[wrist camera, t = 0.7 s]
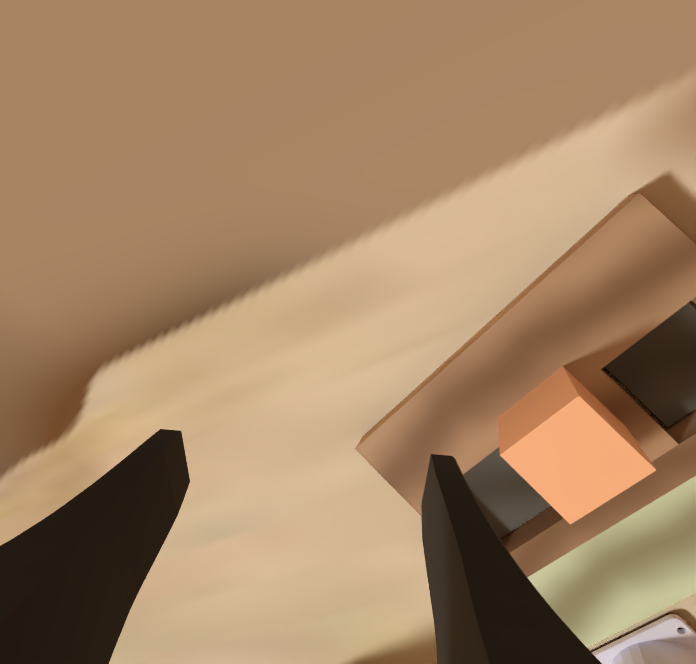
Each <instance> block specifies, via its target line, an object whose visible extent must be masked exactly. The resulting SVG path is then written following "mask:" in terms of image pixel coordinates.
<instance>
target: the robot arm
mask: <svg viewBox="0 0 696 664" xmlns="http://www.w3.org/2000/svg"><path fill="white" fill-rule="evenodd" d="M189 483H190V479H189V473H188V467H187V462H186V456H185V450H184V445H183V439H182V433H181V431H175V430H165V429H160V430H159V431H158V432H156V433H155V434H154V435H153V436H151V437H150V438H149V439H148V440H147V441H145V442H144V443H143V444H142V445H140V446H139V447H138V448H137V449H136V450H134V451H133V452H132V453H131V454H130V455H128V456H127V457H126V458H125V459H123V460H122V461H121V462H120V463H119V464H117V465H116V466H115V467H114V468H112V469H111V470H110V471H108V472H107V473H106V474H105V475H103V476H102V477H101V478H100V479H98V480H97V481H96V482H95V483H93V484H92V485H91V486H89V487H88V488H87V489H85V490H84V491H83V492H81V493H80V494H78V495H77V496H76V497H74V498H73V499H72V500H70V501H69V502H68V503H66V504H65V505H64V506H62V507H61V508H59V509H58V510H56V511H55V512H54V513H52V514H51V515H49V516H48V517H46V518H45V519H43V520H42V521H40V522H39V523H37V524H35V525H34V526H32V527H31V528H29V529H28V530H26V531H24V532H23V533H21V534H20V535H18V536H16V537H15V538H13V539H12V540H10V541H8V542H6V543H5V544H3V545H1V546H0V664H109V661H110V659H111V656H112V653H113V651H114V648H115V646H116V643H117V641H118V638H119V636H120V633H121V631H122V628H123V626H124V623H125V621H126V618H127V616H128V614H129V611H130V609H131V607H132V604H133V602H134V600H135V598H136V596H137V594H138V592H139V590H140V588H141V586H142V584H143V582H144V580H145V578H146V576H147V574H148V572H149V570H150V568H151V566H152V564H153V563H154V561H155V559H156V557H157V555H158V553H159V551H160V549H161V547H162V545H163V543H164V541H165V539H166V537H167V535H168V533H169V531H170V529H171V527H172V525H173V523H174V521H175V519H176V517H177V515H178V513H179V510H180V507H181V505H182V502H183V500H184V497H185V494H186V491H187V488H188V485H189ZM421 511H422V539H423V547H424V554H425V561H426V569H427V576H428V583H429V589H430V596H431V603H432V610H433V617H434V625H435V634H436V644H437V662H438V664H696V632H695V631H694V630H693V629H692V628H691V627H690V626H689V625H688V624H687V623H686V622H685V621H684V620H683V619H682V618H681V617H679V616H678V615H675V614H670V615H667V616H665V617H663V618H661V619H659V620H657V621H655V622H653V623H651V624H649V625H647V626H645V627H643V628H641V629H639V630H637V631H634V632H632V633H630V634H628V635H626V636H624V637H622V638H620V639H618V640H616V641H614V642H612V643H610V644H608V645H606V646H604V647H602V648H600V649H598V650H596V651H594V652H592V653H591V652H590V651H589V649H588V648H587V647H586V646H585V645H584V644H583V643H582V642H581V641H580V639H579V638H578V637H577V636H576V635H575V634H574V633H573V632H572V631H571V629H570V628H569V627H568V626H567V625H566V624H565V623H564V622H563V621H562V619H561V618H560V617H559V616H558V615H557V614H556V613H555V611H554V610H553V609H552V608H551V607H550V605H549V604H548V603H547V602H546V601H545V599H544V598H543V597H542V596H541V594H540V593H539V592H538V591H537V589H536V588H535V587H534V586H533V584H532V583H531V582H530V580H529V579H528V578H527V576H526V575H525V574H524V572H523V571H522V570H521V568H520V567H519V566H518V564H517V563H516V561H515V560H514V559H513V557H512V556H511V554H510V553H509V551H508V550H507V548H506V547H505V545H504V544H503V542H502V541H501V539H500V538H499V536H498V535H497V533H496V532H495V530H494V529H493V527H492V525H491V524H490V522H489V520H488V519H487V517H486V515H485V514H484V512H483V510H482V509H481V507H480V505H479V504H478V502H477V500H476V498H475V497H474V495H473V493H472V491H471V489H470V487H469V485H468V483H467V482H466V480H465V478H464V476H463V474H462V472H461V470H460V468H459V465H458V463H457V461H456V459H455V458H454V457H453V456H448V455H437V454H431V456H430V461H429V466H428V471H427V477H426V482H425V487H424V492H423V497H422V503H421ZM680 627H682V629H678V628H680Z"/></svg>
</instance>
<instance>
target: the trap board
mask: <svg viewBox="0 0 696 664" xmlns="http://www.w3.org/2000/svg"><path fill="white" fill-rule="evenodd" d="M690 301H692V302H693V303H695V304H696V244H695V243H694V242H693V241H692V240H691V239H690V238H689V237H688V236H686V235H685V234H684V233H683V232H682V231H681V230H680V229H679V228H678V227H677V226H675V225H674V224H673V223H672V222H671V221H670V220H669V219H668V218H667V217H666V216H664V215H663V214H662V213H661V212H660V211H659V210H658V209H657V208H656V207H655V206H653V205H652V204H651V203H650V202H649V201H648V200H647V199H646V198H645V197H644V196H642V195H641V194H640V193H638V194H633V195H629V196H627V197H626V198H625V199H624V200H623V201H622V202H621V203H620V204H619V205H618V206H616V207H615V208H614V209H613V210H612V211H611V212H610V213H609V214H608V215H607V216H605V217H604V218H603V219H602V220H601V221H600V222H599V223H598V224H597V225H596V226H594V227H593V228H592V229H591V230H590V231H589V232H588V233H587V234H586V235H585V236H583V237H582V238H581V239H580V240H579V241H578V242H577V243H576V244H575V245H573V246H572V247H571V248H570V249H569V250H568V251H567V252H566V253H565V254H564V255H562V256H561V257H560V258H559V259H558V260H557V261H556V262H555V263H554V264H553V265H551V266H550V267H549V268H548V269H547V270H546V271H545V272H544V273H543V274H542V275H540V276H539V277H538V278H537V279H536V280H535V281H534V282H533V283H532V284H530V285H529V286H528V287H527V288H526V289H525V290H524V291H523V292H522V293H521V294H519V295H518V296H517V297H516V298H515V299H514V300H513V301H512V302H511V303H510V304H508V305H507V306H506V307H505V308H504V309H503V310H502V311H501V312H500V313H499V314H497V315H496V316H495V317H494V318H493V319H492V320H491V321H490V322H489V323H487V324H486V325H485V326H484V327H483V328H482V329H481V330H480V331H479V332H478V333H476V334H475V335H474V336H473V337H472V338H471V339H470V340H469V341H468V342H467V343H465V344H464V345H463V346H462V347H461V348H460V349H459V350H458V351H457V352H456V353H454V354H453V355H452V356H451V357H450V358H449V359H448V360H447V361H446V362H444V363H443V364H442V365H441V366H440V367H439V368H438V369H437V370H436V371H435V372H433V373H432V374H431V375H430V376H429V377H428V378H427V379H426V380H425V381H424V382H422V383H421V384H420V385H419V386H418V387H417V388H416V389H415V390H414V391H413V392H411V393H410V394H409V395H408V396H407V397H406V398H405V399H404V400H403V401H401V402H400V403H399V404H398V405H397V406H396V407H395V408H394V409H393V410H392V411H390V412H389V413H388V414H387V415H386V416H385V417H384V418H383V419H382V420H381V421H379V422H378V423H377V424H376V425H375V426H374V427H373V428H372V429H371V430H370V431H368V432H367V433H366V434H365V435H364V436H363V437H362V439H361V440H360V442H359V444H358V445H357V447H356V450H357V451H358V452H359V453H360V454H361V455H362V456H363V457H364V458H365V459H366V460H367V461H368V462H369V463H370V465H371V466H372V467H373V468H374V469H375V470H376V471H377V472H378V473H379V474H380V475H381V476H382V477H383V478H384V479H385V480H386V481H387V482H388V483H389V484H390V485H391V486H392V487H393V488H394V489H395V490H396V491H397V492H398V493H399V494H400V495H401V496H402V497H403V498H404V499H405V500H406V501H407V502H408V503H409V504H410V505H411V506H412V507H413V508H414V509H415V510H416V511H417V512H418V513H419V514H420V515H421V516H422V511H421V503H422V497H423V492H424V487H425V482H426V477H427V471H428V466H429V461H430V456H431V454H437V455H448V456H453V457H454V458H455V459H456V461H457V463H458V465H459V468H460V470H461V472H462V474H463V476H464V478H465V480H466V482H467V483H468V485H469V487H470V489H471V491H472V493H473V495H474V497H475V498H476V500H477V502H478V504H479V505H480V507H481V509H482V510H483V512H484V514H485V515H486V517H487V519H488V520H489V522H490V524H491V525H492V527H493V529H494V530H495V532H496V533H497V535H498V536H499V538H501V541H502V542H503V544H504V545H505V547H506V548H507V550H508V551H509V553H510V554H511V556H512V557H513V559H514V560H515V561H516V563H517V564H518V566H519V567H520V568H521V570H522V571H523V572H524V574H525V575H526V576H527V578H528V579H529V580H530V582H531V583H532V584H533V586H534V587H535V588H536V589H537V591H538V592H539V593H540V594H541V596H542V597H543V598H544V599H545V601H546V602H547V603H548V604H549V605H550V607H551V608H552V609H553V610H554V611H555V613H556V614H557V615H558V616H559V617H560V618H561V619H562V621H563V622H564V623H565V624H566V625H567V626H568V627H569V628H570V629H571V631H572V632H573V633H574V634H575V635H576V636H577V637H578V638H579V639H580V641H581V642H582V643H583V644H584V645H585V646H586V647H589V646H591V645H593V644H595V643H597V642H599V641H601V640H603V639H605V638H607V637H609V636H611V635H613V634H616V633H618V632H620V631H622V630H624V629H626V628H628V627H630V626H632V625H634V624H636V623H638V622H640V621H642V620H644V619H646V618H648V617H650V616H652V615H654V614H656V613H658V612H660V611H662V610H664V609H666V608H668V607H670V606H672V605H674V604H676V603H678V602H680V601H682V600H684V599H686V598H688V597H690V596H692V595H694V594H696V410H695V409H696V309H695V308H694V307H693V306H692V305H691V304H690V303H689V302H690ZM562 366H563V367H564V368H565V369H566V370H567V371H568V372H570V373H571V374H572V375H573V376H574V377H575V378H576V379H577V380H578V381H579V382H580V383H581V384H582V385H583V386H584V387H585V388H586V389H587V390H588V391H589V392H590V393H591V394H593V395H594V396H595V397H596V398H597V399H598V400H599V401H600V402H601V403H602V404H603V405H604V406H605V407H606V408H607V409H608V410H609V411H610V412H611V413H612V414H613V415H614V416H616V417H617V418H618V419H619V420H620V421H621V422H622V423H623V424H624V425H625V426H626V427H627V429H628V430H629V432H630V433H631V434H632V436H633V437H634V439H635V440H636V442H637V443H638V444H639V446H640V447H641V449H642V450H643V452H644V453H645V454H646V456H647V457H648V459H649V460H650V462H651V463H652V464H653V466H654V467H655V469H656V471H655V472H653V473H651V474H650V475H648V476H647V477H645V478H644V479H642V480H640V481H639V482H637V483H636V484H634V485H632V486H631V487H629V488H628V489H626V490H624V491H623V492H621V493H620V494H618V495H617V496H615V497H613V498H612V499H610V500H609V501H607V502H605V503H604V504H602V505H601V506H599V507H598V508H596V509H594V510H593V511H591V512H590V513H588V514H586V515H585V516H583V517H582V518H580V519H579V520H577V521H575V522H574V523H572V524H571V525H570V524H569V523H568V522H567V521H566V520H565V519H564V518H563V517H562V516H561V515H560V514H559V513H558V512H557V511H556V510H555V509H554V508H553V507H552V506H550V504H549V503H548V502H547V501H546V500H545V499H544V498H543V497H542V496H541V495H540V494H539V493H538V492H537V491H536V490H535V489H534V488H533V487H532V486H531V485H530V484H529V483H528V482H527V481H526V480H525V479H524V478H523V477H522V476H520V475H519V474H518V473H517V472H516V471H515V470H514V469H513V468H512V467H511V466H510V465H509V464H508V463H507V462H506V461H505V460H504V459H503V458H502V457H501V456H500V448H499V428H498V417H499V416H500V415H502V414H503V413H504V412H505V411H507V410H508V409H509V408H510V407H512V406H513V405H514V404H515V403H517V402H518V401H519V400H520V399H522V398H523V397H524V396H525V395H527V394H528V393H529V392H530V391H532V390H533V389H534V388H536V387H537V386H538V385H539V384H541V383H542V382H543V381H544V380H546V379H547V378H548V377H549V376H551V375H552V374H553V373H554V372H556V371H557V370H558V369H559V368H561V367H562ZM603 367H605V368H606V369H607V370H608V371H609V372H610V373H611V374H612V375H613V376H615V377H616V378H617V379H618V380H619V381H620V382H621V383H622V384H623V385H624V386H625V387H626V388H627V389H628V390H629V391H630V392H631V393H632V394H633V395H635V396H636V397H637V398H638V399H639V400H640V401H641V402H642V403H643V404H644V405H645V406H646V407H647V408H648V409H649V410H650V411H651V412H652V413H653V414H655V415H656V416H657V417H658V418H659V419H660V420H661V421H662V422H663V423H664V424H665V425H666V426H667V427H669V426H670V427H669V428H667V429H665V428H664V427H662V426H661V425H660V424H659V423H658V422H657V421H656V420H655V419H654V418H653V417H652V416H651V415H650V414H649V413H648V412H647V411H646V410H645V409H644V408H642V407H641V406H640V405H639V404H638V403H637V402H636V401H635V400H634V399H633V398H632V397H631V396H630V395H629V394H628V393H627V392H626V391H625V390H624V389H622V388H621V387H620V386H619V385H618V384H617V383H616V382H615V381H614V380H613V379H612V378H611V377H610V376H609V375H608V374H607V373H606V372H605V371H604V370H602V368H603ZM693 410H694V411H693ZM692 411H693V412H692ZM690 412H691V413H690ZM689 413H690V414H689ZM687 414H688V415H687ZM686 415H687V416H686ZM684 416H685V417H684ZM683 417H684V418H683ZM681 418H682V419H681ZM680 419H681V420H680ZM678 420H679V421H678ZM677 421H678V422H677ZM675 422H676V423H675ZM674 423H675V424H674ZM672 424H673V425H672ZM671 425H672V426H671ZM549 506H550V507H549ZM547 507H548V508H547ZM546 508H547V509H546ZM544 509H545V510H544ZM543 510H544V511H543ZM541 511H542V512H541ZM538 513H539V514H538ZM535 515H536V516H535ZM532 517H533V518H532ZM529 519H530V520H529ZM527 520H528V521H527ZM526 521H527V522H526ZM524 522H525V523H524ZM523 523H524V524H523ZM521 524H522V525H521ZM520 525H521V526H520ZM518 526H519V527H518ZM517 527H518V528H517ZM515 528H516V529H515ZM514 529H515V530H514ZM512 530H513V531H512ZM511 531H512V532H511ZM509 532H510V533H509ZM508 533H509V534H508ZM506 534H507V535H506ZM505 535H506V536H505ZM503 536H504V537H503ZM502 537H503V538H502Z"/></svg>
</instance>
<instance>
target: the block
mask: <svg viewBox="0 0 696 664" xmlns="http://www.w3.org/2000/svg"><path fill="white" fill-rule="evenodd" d="M498 428H499V448H500V456H501V457H502V458H503V459H504V460H505V461H506V462H507V463H508V464H509V465H510V466H511V467H512V468H513V469H514V470H515V471H516V472H517V473H518V474H519V475H520V476H522V477H523V478H524V479H525V480H526V481H527V482H528V483H529V484H530V485H531V486H532V487H533V488H534V489H535V490H536V491H537V492H538V493H539V494H540V495H541V496H542V497H543V498H544V499H545V500H546V501H547V502H548V503H549V504H550V505H551V506H552V507H553V508H554V509H555V510H556V511H557V512H558V513H559V514H560V515H561V516H562V517H563V518H564V519H565V520H566V521H567V522H568V523H569V524H570V525H571V524H572V523H574V522H575V521H577V520H579V519H580V518H582V517H583V516H585V515H586V514H588V513H590V512H591V511H593V510H594V509H596V508H598V507H599V506H601V505H602V504H604V503H605V502H607V501H609V500H610V499H612V498H613V497H615V496H617V495H618V494H620V493H621V492H623V491H624V490H626V489H628V488H629V487H631V486H632V485H634V484H636V483H637V482H639V481H640V480H642V479H644V478H645V477H647V476H648V475H650V474H651V473H653V472H655V471H656V469H655V467H654V466H653V464H652V463H651V462H650V460H649V459H648V457H647V456H646V454H645V453H644V452H643V450H642V449H641V447H640V446H639V444H638V443H637V442H636V440H635V439H634V437H633V436H632V434H631V433H630V432H629V430H628V429H627V427H626V426H625V425H624V424H623V423H622V422H621V421H620V420H619V419H618V418H617V417H616V416H614V415H613V414H612V413H611V412H610V411H609V410H608V409H607V408H606V407H605V406H604V405H603V404H602V403H601V402H600V401H599V400H598V399H597V398H596V397H595V396H594V395H593V394H591V393H590V392H589V391H588V390H587V389H586V388H585V387H584V386H583V385H582V384H581V383H580V382H579V381H578V380H577V379H576V378H575V377H574V376H573V375H572V374H571V373H570V372H568V371H567V370H566V369H565V368H564V367H563V366H562V367H561V368H559V369H558V370H557V371H556V372H554V373H553V374H552V375H551V376H549V377H548V378H547V379H546V380H544V381H543V382H542V383H541V384H539V385H538V386H537V387H536V388H534V389H533V390H532V391H530V392H529V393H528V394H527V395H525V396H524V397H523V398H522V399H520V400H519V401H518V402H517V403H515V404H514V405H513V406H512V407H510V408H509V409H508V410H507V411H505V412H504V413H503V414H502V415H500V416H499V417H498Z"/></svg>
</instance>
